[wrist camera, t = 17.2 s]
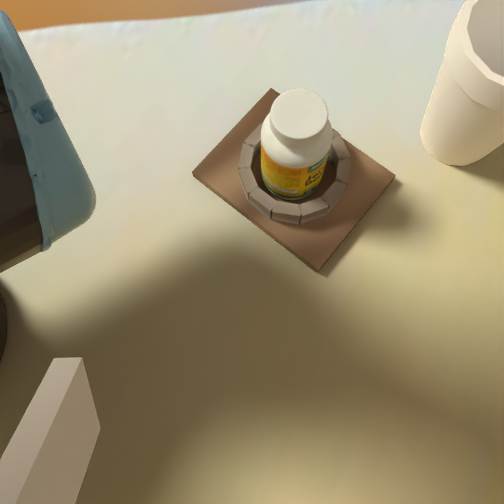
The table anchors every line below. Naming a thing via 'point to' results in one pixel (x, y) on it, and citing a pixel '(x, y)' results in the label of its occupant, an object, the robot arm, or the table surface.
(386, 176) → the socket board
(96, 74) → the table surface
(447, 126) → the foam cup
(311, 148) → the supplement bottle
